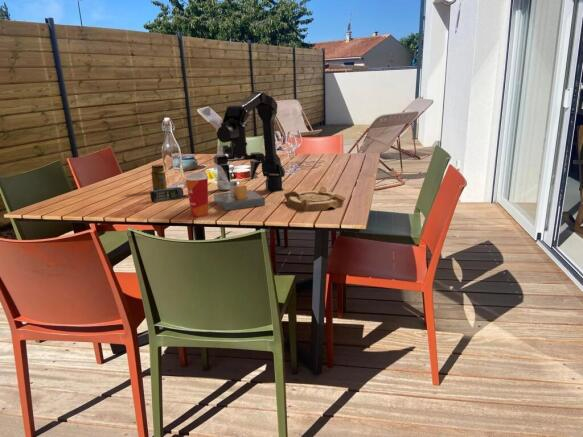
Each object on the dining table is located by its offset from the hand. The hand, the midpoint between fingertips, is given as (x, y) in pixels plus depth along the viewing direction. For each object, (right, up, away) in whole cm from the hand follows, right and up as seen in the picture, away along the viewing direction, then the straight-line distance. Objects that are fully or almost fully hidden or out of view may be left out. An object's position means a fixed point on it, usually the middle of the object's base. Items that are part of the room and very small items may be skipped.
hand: (240, 180), depth 168 cm
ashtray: (+29, -9, +4) cm, 30 cm away
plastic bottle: (-11, -2, +31) cm, 33 cm away
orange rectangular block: (0, -10, +3) cm, 10 cm away
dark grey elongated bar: (-32, -7, +16) cm, 36 cm away
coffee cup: (-14, -13, -8) cm, 21 cm away
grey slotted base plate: (-1, -8, +7) cm, 11 cm away
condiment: (-40, -3, +31) cm, 51 cm away
